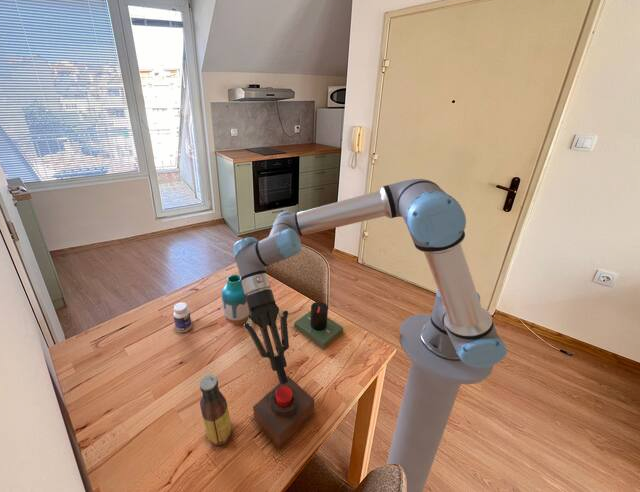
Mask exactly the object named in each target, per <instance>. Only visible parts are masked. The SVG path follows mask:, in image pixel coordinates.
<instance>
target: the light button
mask: <svg viewBox="0 0 640 492" xmlns="http://www.w3.org/2000/svg"><path fill="white" fill-rule="evenodd" d="M276 403H277V404H278V405H279V406H281V407H287V406H289V405H290V404H291V403H292V391H291V389H290V388H289V387H287V386H281V387H279V388H278V389H277V390H276Z"/></svg>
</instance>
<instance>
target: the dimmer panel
mask: <svg viewBox="0 0 640 492" xmlns="http://www.w3.org/2000/svg"><path fill="white" fill-rule="evenodd" d="M310 319H311V310H309V311H308V312H306V313H305V314H304V315H303V316H301V317H300V318H298V319H297V320H296V321H294V325H293V327H294V329H296V330H297V331H298V332H300V333H301V334H302V335H304V336H305V337H306V338H308V340H310V341H312V342H313V343H315V344H316V345H317V346H319V347H320V348H321V349H323V350H324V349H325V348H327V347H328V346H329V345H330V344H332V343H333V342H334V341H335V340H336V339H337V338H338V337H339V336H341V334H343V331H344V327H343V326H342V325H341V324H339V323H338V322H336V321H334V320H333V319H331V318H329V317H328V316H327V327H326V328H325V329H324V330H322V331H317V330H314V329H313V328H312V327H311V325H310Z"/></svg>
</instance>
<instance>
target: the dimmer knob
mask: <svg viewBox="0 0 640 492" xmlns="http://www.w3.org/2000/svg"><path fill="white" fill-rule="evenodd" d="M310 311H311V319H310V325H311V327H312V328H313V329H314V330H317V331H322V330H324V329H325V328H326V327H327V317H328V316H329V315H328V314H329V306H328V305H327V304H326V303H325V302H322V301H316V302H312V303H311V305H310Z"/></svg>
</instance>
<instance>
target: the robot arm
mask: <svg viewBox="0 0 640 492" xmlns="http://www.w3.org/2000/svg"><path fill="white" fill-rule="evenodd" d="M383 217H386V218H389V219H394V218H402V219H403V221H404V223H405V225H406V228H407V230H408V232H409V235H410V237H411V240H412V242H413V244H414V245H413V246H414V247H415V249H416V250H418V251H420V252H422V253H423V254H424V256H425V259H426V261H427V262H426V263H427V264H428V267H429V269H430V272H431V275H432V277H433V280H434V283H435V286H436V288H437V291H436V293H435V300H434V303H433V307H432V311H431V314H432V315H431V319H430V320H429V321H428V322H427V323H426V324H425V325H424V327H423V328H422V331H421V334H420V338H421V341H422V343H423V345H424V346H425V347H426V348H427V349H428V350H429V351H430V352H431V353H433V354H434V355H436V356H438V357H440V358H443V359H446V360H450V361H460V360H461V361H462V362H464V363H465V364H467V365H469V366H473V367H488V366H492V365H494V366H495V365H498V363H500V362H501V361H503V360H504V359H505V357H506V356H507V352H508V350H507V347H506V344H505V341H503V339H501V337H500V336H499V334H498V332H497V330H496V327H495V324H494V320H493V317H492V315H491V313H490V312H489V311H488V310H487V309H486V308H485V307H483V306H482V304H481V295H480V293H478V291H477V289H476V286H475V283H474V280H473V275H472V273H471V270H470V267H469V265H468V261H467V258H466V255H465V252H464V249H463V246H462V243H463V242H464V240H465V238H466V232H465V229H466V226H467V216H466V213H465V211H464V209H463V207H462V205H461V204H460V203H459V201H458V200H456V198H455V197H453V196H452V195H450V194H448V193H447V192H445V190H443V189H442V188H441V187H440V186H439V184H437V183H435V182H434V181H432V180H429V179H425V178H412V179H407V180H402V181H397V182H394V183H389V184H387V185H383V186H381V187H380V189H379V190H377V191H374V192H370V193H366V194H362V195H359V196H355V197H351V198H347V199H343V200H339V201H336V202H332V203H327V204H324V205H320V206H317V207H312V208H310V209H306V210H305V209H304V210H301V211H298V212H294V213H293V212H292V211H291V212H290V211H287V210H286V211H282V212H280V213H279V214H278V215H277V216H276V217H275V219H274V221H273V224H272V228H271V229H270V232H269V234H268V236H267V237H265V238H263V239H261V240H257V238H256V237H253V236H252V237H245V238H241V239H239V240H237V241H236V242H234V244H233V245H232V251H233V254H234V261H235V263H236V267H237V269H238V273H239V275H240V277H241V282H242V285H243V289H244V293H245V295H247V297H246V301H247V304H248V308H249V318H248V319H247V320H246V321H245V322H244V323H243V325H242V328H243V329H244V330H245V331H246V332H248V334H249V336H250V338H251V341H252V342H253V344H254V346H255V348H256V350H257V351H258V353H259V355H260V357H261V358H266V359H268V360H269V364H270V366H271V370H272V372H276V374H277V378H278V382H279V383H280V384H285V383H287V382H288V380H287V376H288V375H287V373H286V370H285V368H286V367H288V366H287V365H288V364H287V363H288V362H287V360H286V357H285V352H286V351H287V350H288V349H290V342H289V329H288V316H289V311H288V310H283V309H280V307H279V306H278V305H277V303H276V299H275V295H274V293H273V290H272V289H271V283H270V280H269V276H268V273H267V270H266V267H270V266H271V265H273V264H276V263H279V262H281V261H284V260H287V259H291V258H292V257H294V256H296V255H298V254H300V252H301V251H302V241H301V239H300V237H302V236H306V235H309V234H310V235H311V234H314V233H319V232H323V231H328V230H331V229H336V228H340V227H345V226H348V225H349V226H350V225H354V224H359V223H360V222H366V221H371V220H374V219H378V218H383ZM278 318H279V319H280V320H279V323H280V333H279V331H278V328H277V322H276V321H277V319H278ZM254 325H256V326H257V327H259V331H260V333H261V336H262V339H263V343H264V345H263V344H262V341H261V340H260V338H259V336H258V334H257V332H256V330H255V329H254ZM268 328H269V329H268ZM269 330H270V334H269ZM270 335H271V337H272V340H271V337H270ZM272 341H273V344H274V348H275V351H276V354H277V355H275V352H274V348H273V345H272Z"/></svg>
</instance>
